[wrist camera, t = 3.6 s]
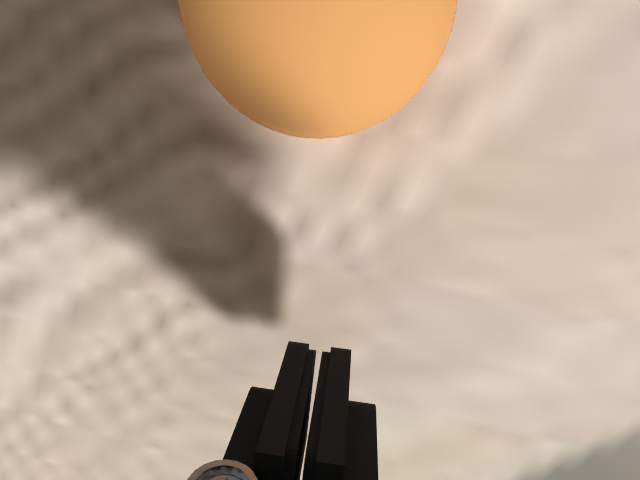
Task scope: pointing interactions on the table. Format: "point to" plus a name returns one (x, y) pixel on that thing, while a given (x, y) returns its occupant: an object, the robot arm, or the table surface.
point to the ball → (317, 58)
